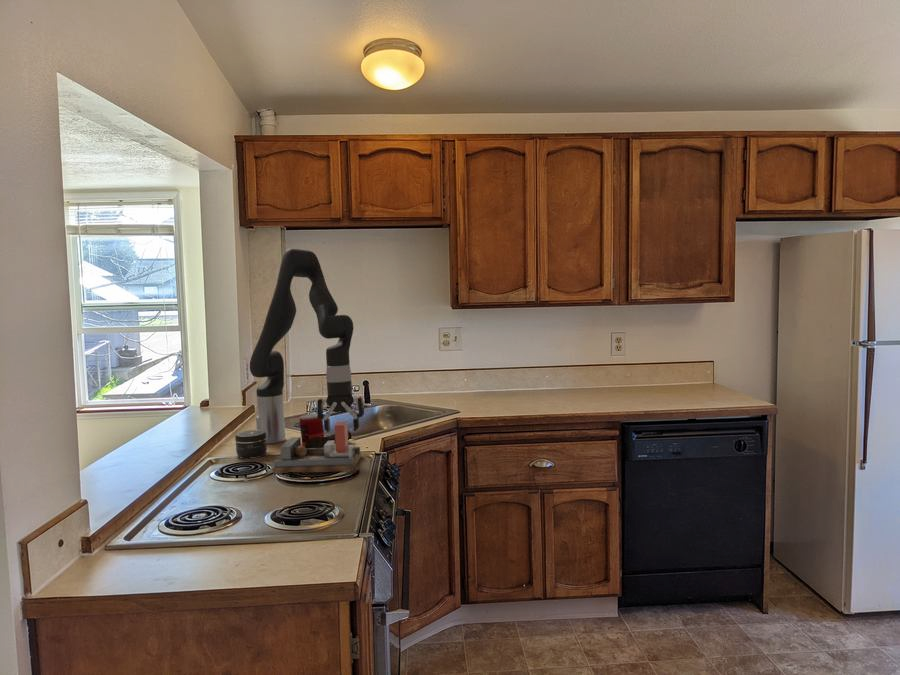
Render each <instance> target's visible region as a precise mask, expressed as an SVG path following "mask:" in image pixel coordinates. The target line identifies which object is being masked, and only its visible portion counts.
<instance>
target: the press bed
mask: <svg viewBox="0 0 900 675" xmlns="http://www.w3.org/2000/svg"><path fill="white" fill-rule="evenodd" d="M322 458H324V455H305V456H304V457H299V458H298V459H322ZM361 458H362V452H361V451H360V454H354V456H353V465H342V466H308V467H274V466H273V468H272V474H289V473H288V472H302V473H328V472H330V473H332V472H334V473H335V472H353V471H354V469H355V467H356V465H357V464H358V462H359V461H360V459H361Z"/></svg>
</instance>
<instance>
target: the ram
mask: <svg viewBox="0 0 900 675" xmlns="http://www.w3.org/2000/svg"><path fill="white" fill-rule="evenodd" d="M348 431H349V430H348V421H337V423H336V424H334V434H335V443H334V441H327V443H326V444H325V445H324V447H323V448H324V458H353V456H354V454H355V447H356V445H355V444H349V442H348Z"/></svg>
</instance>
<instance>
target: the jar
mask: <svg viewBox="0 0 900 675" xmlns="http://www.w3.org/2000/svg"><path fill="white" fill-rule="evenodd" d="M234 437H235V439H234V440H235V452H236V455H237V457H238V458H240V457H242V458H241V459H244V458H248V459H251V458H250V457H257V458H259V457H258V456H261V457H263V456H265V455H266V453H267V447H268V446H267V445H268V444H267V443H266V439H267V437H266V432H265V431H263V430H257V429H250V430H249V429H248V430H244V431H239V432H237V433H236V434H235V436H234ZM262 455H263V456H262Z"/></svg>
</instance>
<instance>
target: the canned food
mask: <svg viewBox="0 0 900 675" xmlns="http://www.w3.org/2000/svg"><path fill="white" fill-rule="evenodd" d="M299 427H300V428H299V429H300V434H301V435H300V437H301V446H304V447H305V445H306V442H307V441H308V440H309V439H310V438H314V437H320V438H322V437H325V431H324V430H325V429H324V420H323V419H319V418H318V417H317V412H313V413H306V414H303V415H300V416H299Z"/></svg>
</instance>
